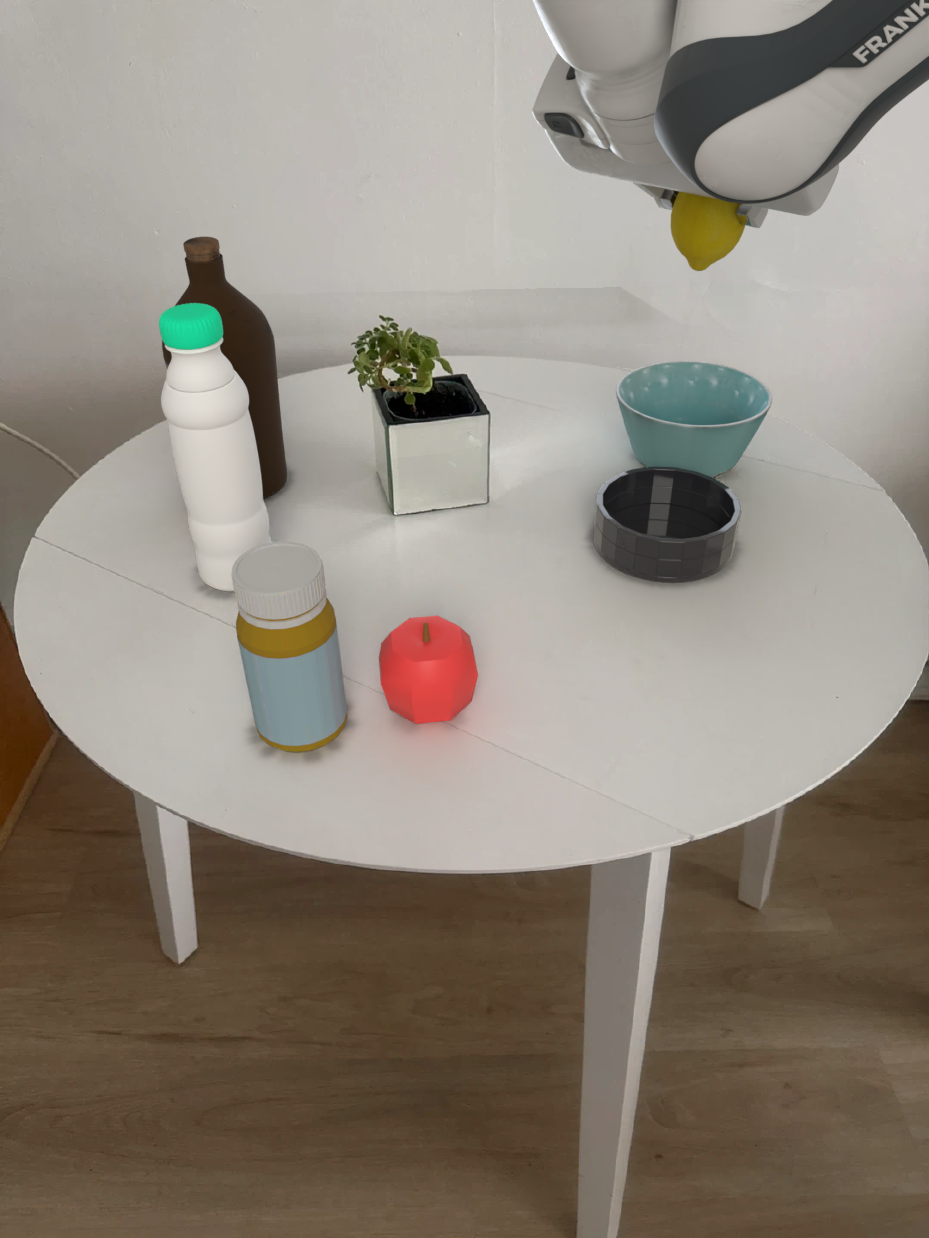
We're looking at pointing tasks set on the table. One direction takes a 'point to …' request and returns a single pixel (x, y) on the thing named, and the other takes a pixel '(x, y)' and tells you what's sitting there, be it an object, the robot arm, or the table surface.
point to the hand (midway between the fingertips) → (712, 209)
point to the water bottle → (212, 443)
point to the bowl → (691, 414)
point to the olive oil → (241, 352)
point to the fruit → (704, 228)
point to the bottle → (289, 646)
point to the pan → (666, 524)
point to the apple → (428, 669)
